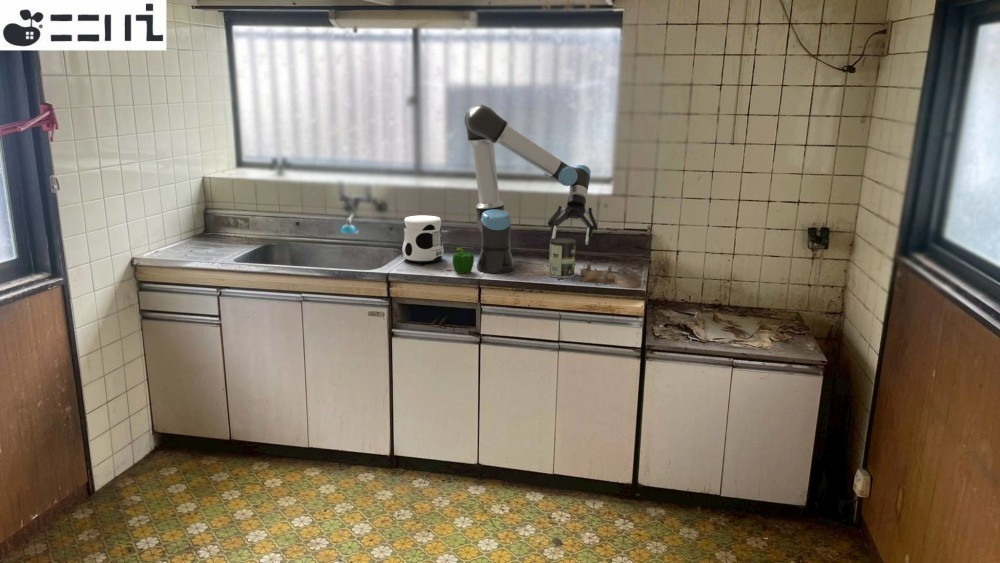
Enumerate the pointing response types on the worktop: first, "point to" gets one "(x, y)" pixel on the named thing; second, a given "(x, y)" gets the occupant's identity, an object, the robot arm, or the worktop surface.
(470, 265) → the bell pepper
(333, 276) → the worktop surface
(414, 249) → the milk container
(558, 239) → the coffee can
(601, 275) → the can seat
